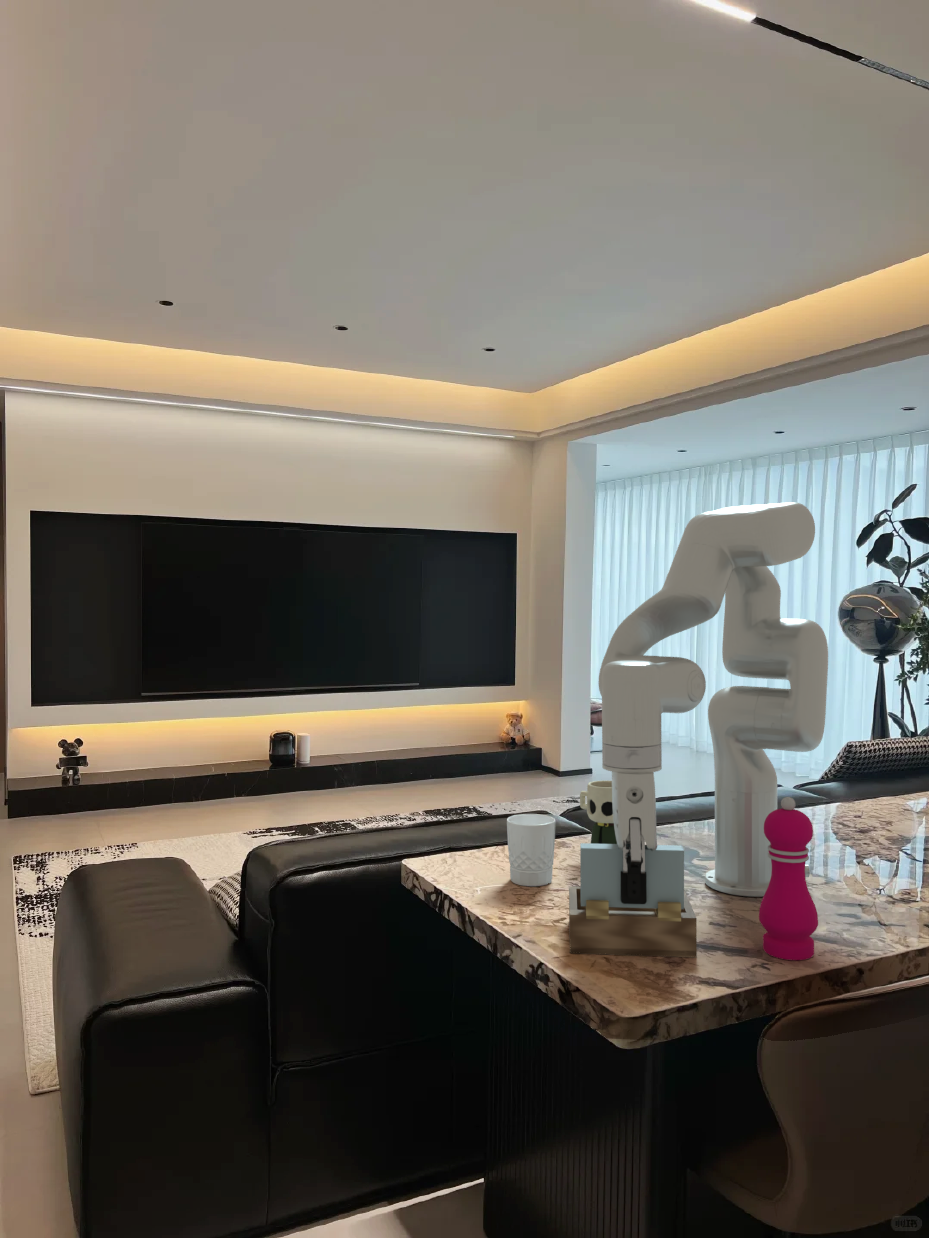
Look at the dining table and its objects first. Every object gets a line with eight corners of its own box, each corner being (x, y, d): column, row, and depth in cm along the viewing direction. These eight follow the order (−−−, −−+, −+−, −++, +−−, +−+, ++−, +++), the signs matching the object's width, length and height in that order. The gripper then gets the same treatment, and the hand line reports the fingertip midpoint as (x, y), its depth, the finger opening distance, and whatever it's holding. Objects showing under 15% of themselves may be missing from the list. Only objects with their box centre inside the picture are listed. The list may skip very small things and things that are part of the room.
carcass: (684, 924, 130) (684, 873, 130) (698, 961, 117) (698, 904, 117) (569, 921, 132) (568, 870, 132) (570, 957, 119) (569, 900, 118)
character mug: (570, 856, 165) (570, 783, 165) (589, 847, 171) (589, 777, 171) (626, 866, 159) (626, 790, 159) (644, 857, 165) (644, 783, 164)
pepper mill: (750, 942, 123) (749, 791, 123) (802, 940, 124) (802, 790, 124) (772, 963, 116) (772, 803, 116) (828, 961, 117) (828, 802, 116)
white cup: (553, 889, 147) (552, 826, 147) (503, 886, 148) (503, 824, 148) (557, 874, 155) (557, 814, 154) (510, 872, 156) (510, 812, 156)
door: (681, 902, 121) (681, 845, 121) (684, 909, 118) (684, 850, 118) (580, 899, 122) (580, 842, 122) (580, 906, 120) (580, 848, 119)
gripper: (668, 768, 111) (669, 921, 112) (655, 747, 127) (655, 880, 128) (605, 768, 112) (606, 919, 113) (599, 746, 128) (600, 879, 129)
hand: (632, 897), depth 120 cm, fingers closed on door, 2 cm apart
